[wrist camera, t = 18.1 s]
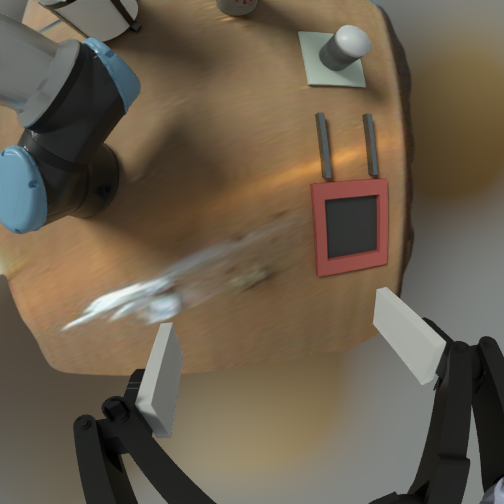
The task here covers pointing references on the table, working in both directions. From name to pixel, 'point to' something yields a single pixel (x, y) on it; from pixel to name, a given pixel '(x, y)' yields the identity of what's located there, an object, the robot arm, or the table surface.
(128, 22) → the coffee press
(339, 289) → the table surface
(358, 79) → the mat
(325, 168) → the grey parallel bars
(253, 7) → the thermos bottle
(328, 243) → the pit plate
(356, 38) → the white topped grey cylinder
